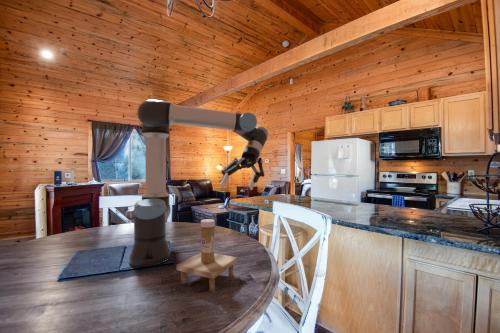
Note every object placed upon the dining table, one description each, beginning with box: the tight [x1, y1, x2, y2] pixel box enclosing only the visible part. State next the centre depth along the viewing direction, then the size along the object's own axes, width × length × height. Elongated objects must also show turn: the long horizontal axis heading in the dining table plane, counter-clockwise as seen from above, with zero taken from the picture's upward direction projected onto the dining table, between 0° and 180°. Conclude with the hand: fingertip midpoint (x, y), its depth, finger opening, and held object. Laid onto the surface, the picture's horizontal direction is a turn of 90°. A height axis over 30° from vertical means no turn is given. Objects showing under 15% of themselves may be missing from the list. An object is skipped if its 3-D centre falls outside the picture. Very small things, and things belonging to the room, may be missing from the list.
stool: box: [176, 252, 238, 293], centre depth 82 cm, size 14×14×6 cm
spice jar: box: [200, 218, 216, 263], centre depth 82 cm, size 5×5×13 cm
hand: (235, 187), depth 103 cm, fingers open, 13 cm apart
